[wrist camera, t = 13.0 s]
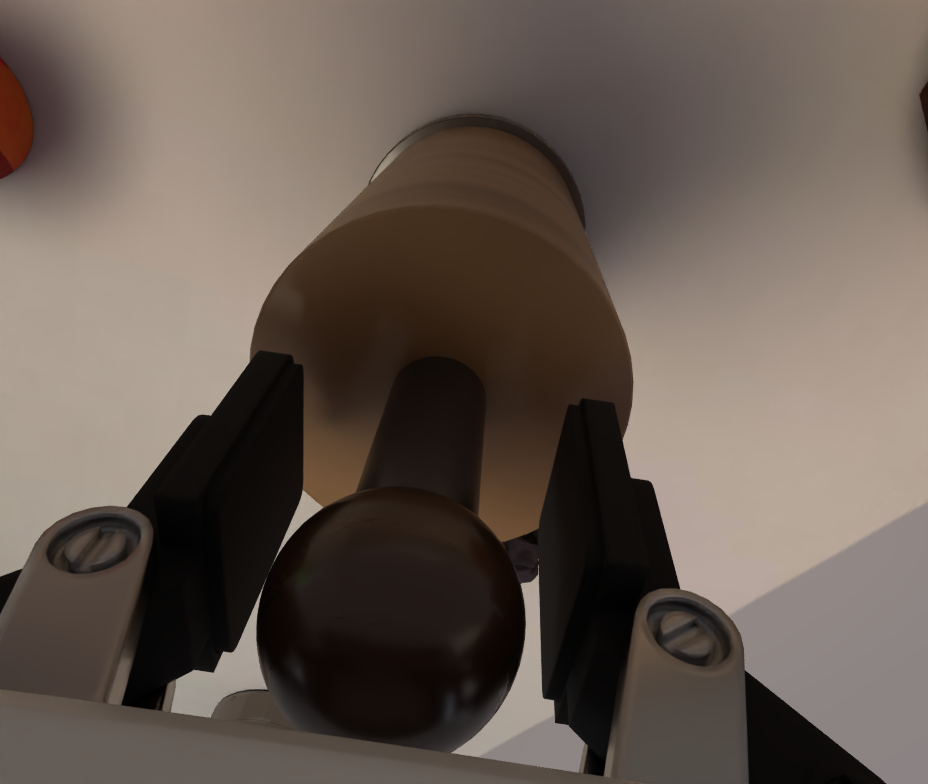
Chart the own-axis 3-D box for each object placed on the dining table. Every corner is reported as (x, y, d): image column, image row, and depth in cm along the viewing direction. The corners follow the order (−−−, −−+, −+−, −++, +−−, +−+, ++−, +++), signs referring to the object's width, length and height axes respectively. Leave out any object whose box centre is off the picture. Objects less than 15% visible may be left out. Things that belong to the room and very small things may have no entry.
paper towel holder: (371, 97, 24) (-151, 306, 5) (605, 131, 24) (953, 464, 5) (357, 317, 28) (37, 895, 9) (559, 346, 28) (660, 983, 9)
